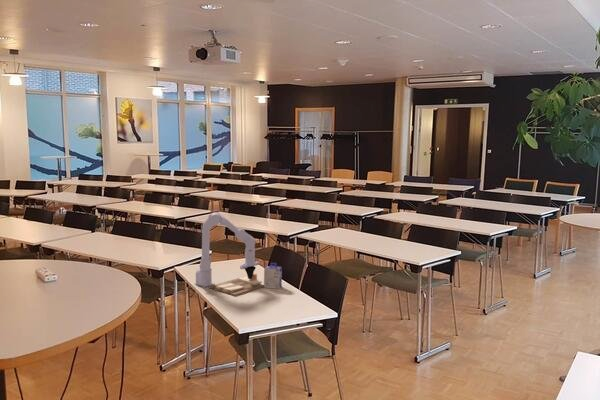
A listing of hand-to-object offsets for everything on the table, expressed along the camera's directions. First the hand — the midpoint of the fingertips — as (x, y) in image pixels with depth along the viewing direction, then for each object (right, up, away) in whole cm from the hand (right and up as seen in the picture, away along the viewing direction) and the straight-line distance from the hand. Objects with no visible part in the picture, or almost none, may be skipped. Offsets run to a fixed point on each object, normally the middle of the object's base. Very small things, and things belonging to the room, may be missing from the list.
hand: (249, 278), depth 302 cm
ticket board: (-7, -4, -8) cm, 11 cm away
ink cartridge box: (+14, -5, -6) cm, 16 cm away
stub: (0, -2, 0) cm, 2 cm away
